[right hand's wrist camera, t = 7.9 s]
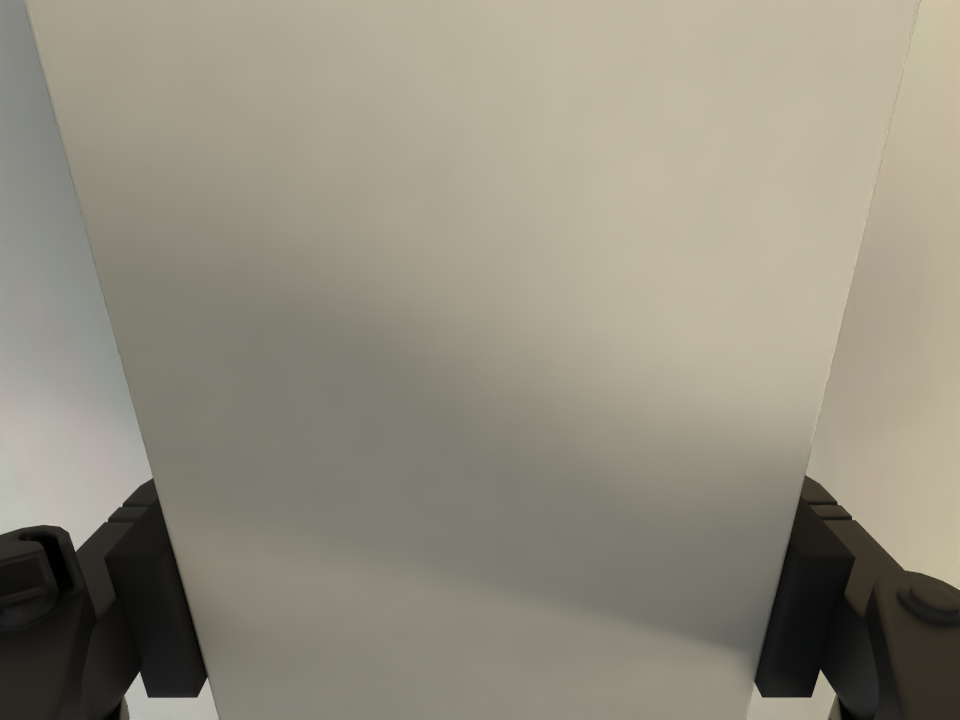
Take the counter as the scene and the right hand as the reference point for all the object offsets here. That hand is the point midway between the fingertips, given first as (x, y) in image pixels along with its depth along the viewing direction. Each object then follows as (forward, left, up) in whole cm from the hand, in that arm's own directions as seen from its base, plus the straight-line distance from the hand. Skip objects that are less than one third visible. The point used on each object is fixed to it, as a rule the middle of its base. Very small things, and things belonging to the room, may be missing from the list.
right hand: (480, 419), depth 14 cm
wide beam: (+12, -21, -1) cm, 25 cm away
